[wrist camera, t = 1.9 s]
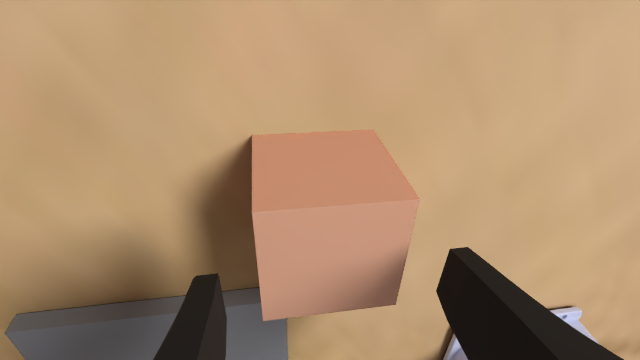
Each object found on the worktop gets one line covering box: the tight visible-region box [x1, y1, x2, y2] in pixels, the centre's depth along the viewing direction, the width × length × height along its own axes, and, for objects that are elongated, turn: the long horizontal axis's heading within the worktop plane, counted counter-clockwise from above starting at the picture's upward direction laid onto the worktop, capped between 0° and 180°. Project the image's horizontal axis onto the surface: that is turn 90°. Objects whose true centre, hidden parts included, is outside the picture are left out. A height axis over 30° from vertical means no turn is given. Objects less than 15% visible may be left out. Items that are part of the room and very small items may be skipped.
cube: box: [252, 130, 420, 321], centre depth 14 cm, size 5×5×5 cm
